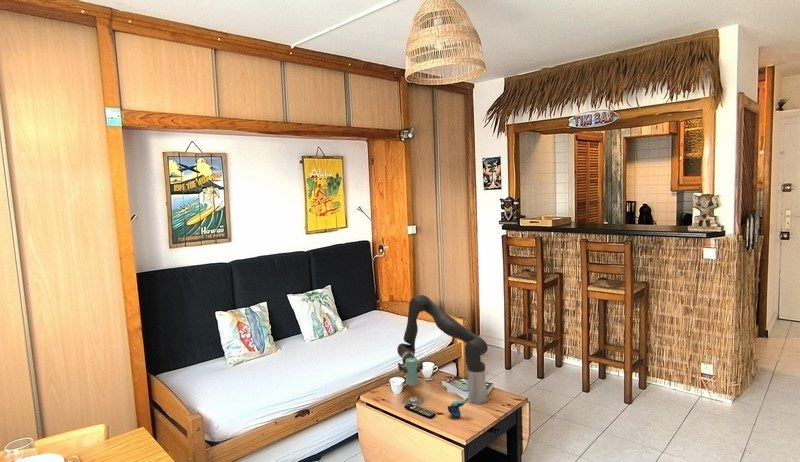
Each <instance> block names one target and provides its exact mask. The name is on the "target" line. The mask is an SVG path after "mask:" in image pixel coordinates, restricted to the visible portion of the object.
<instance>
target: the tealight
mask: <svg viewBox="0 0 800 462" xmlns="http://www.w3.org/2000/svg"><path fill="white" fill-rule="evenodd" d="M410 397H411V398H410V402H411V403H416V402H417V398H416V397H417V396H410Z"/></svg>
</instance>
